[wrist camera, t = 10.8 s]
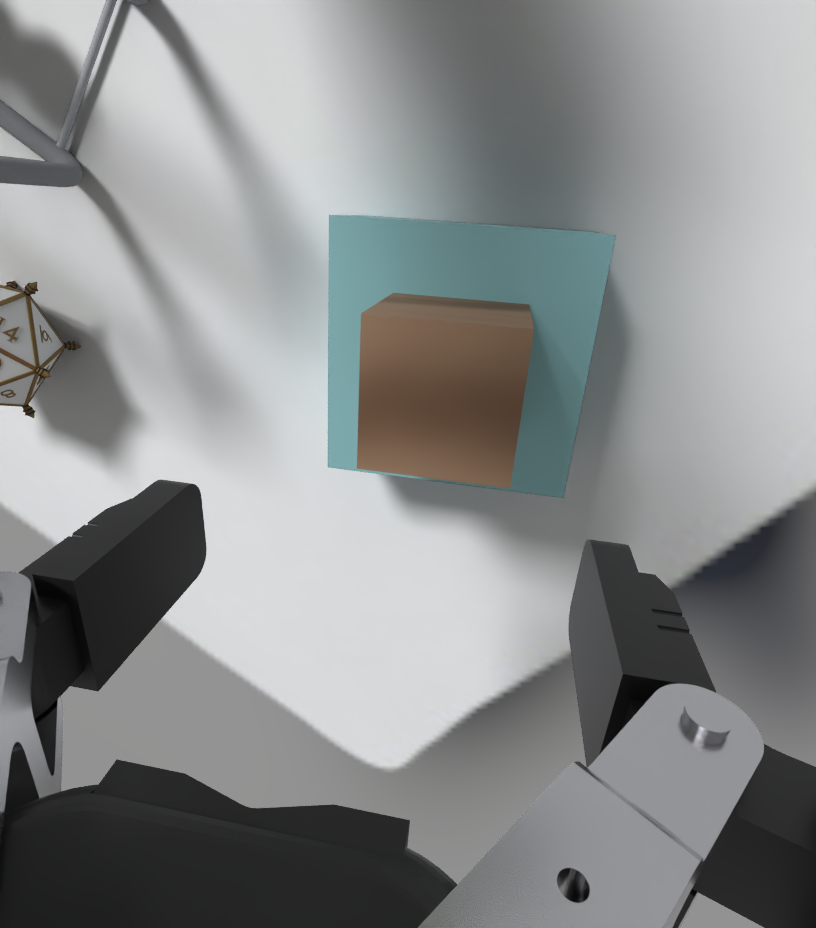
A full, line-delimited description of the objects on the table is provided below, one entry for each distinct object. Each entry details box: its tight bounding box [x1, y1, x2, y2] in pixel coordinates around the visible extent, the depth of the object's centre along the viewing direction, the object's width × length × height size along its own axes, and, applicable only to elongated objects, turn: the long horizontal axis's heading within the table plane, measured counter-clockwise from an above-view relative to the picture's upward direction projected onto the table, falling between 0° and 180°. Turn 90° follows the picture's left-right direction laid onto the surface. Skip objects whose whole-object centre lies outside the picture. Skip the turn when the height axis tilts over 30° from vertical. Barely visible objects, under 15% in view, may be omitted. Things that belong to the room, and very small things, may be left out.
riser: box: [328, 215, 615, 498], centre depth 29 cm, size 12×12×6 cm
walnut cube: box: [357, 293, 534, 488], centre depth 23 cm, size 6×6×6 cm
